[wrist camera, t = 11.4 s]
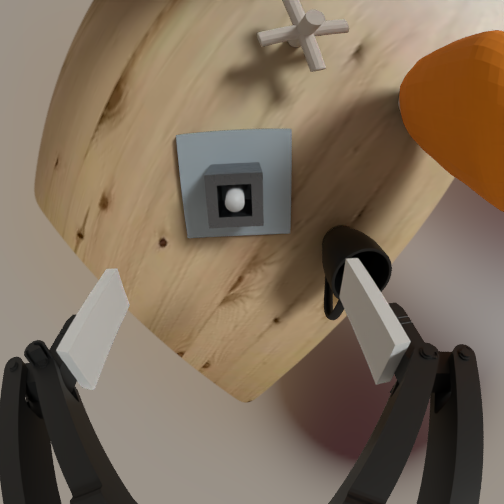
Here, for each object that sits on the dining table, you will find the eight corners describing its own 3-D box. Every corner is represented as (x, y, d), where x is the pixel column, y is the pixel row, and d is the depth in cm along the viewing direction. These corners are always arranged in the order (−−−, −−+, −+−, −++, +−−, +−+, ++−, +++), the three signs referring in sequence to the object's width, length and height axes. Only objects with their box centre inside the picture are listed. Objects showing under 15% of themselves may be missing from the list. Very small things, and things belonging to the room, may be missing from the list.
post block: (177, 134, 31) (160, 141, 24) (290, 128, 32) (303, 133, 25) (189, 235, 38) (177, 264, 31) (289, 230, 38) (299, 259, 31)
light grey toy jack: (269, 84, 29) (280, 73, 20) (244, 18, 24) (245, -14, 15) (343, 69, 28) (378, 57, 19) (319, 5, 23) (344, -25, 14)
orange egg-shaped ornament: (463, 94, 28) (591, 124, 6) (430, 181, 35) (552, 263, 13) (381, 29, 24) (520, -12, 2) (341, 127, 32) (490, 174, 10)
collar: (210, 164, 33) (204, 175, 27) (259, 162, 33) (262, 172, 27) (213, 209, 35) (209, 228, 30) (260, 207, 36) (263, 225, 30)
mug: (292, 276, 42) (304, 318, 34) (329, 208, 37) (354, 238, 29) (336, 290, 44) (353, 330, 36) (373, 228, 39) (403, 260, 30)
